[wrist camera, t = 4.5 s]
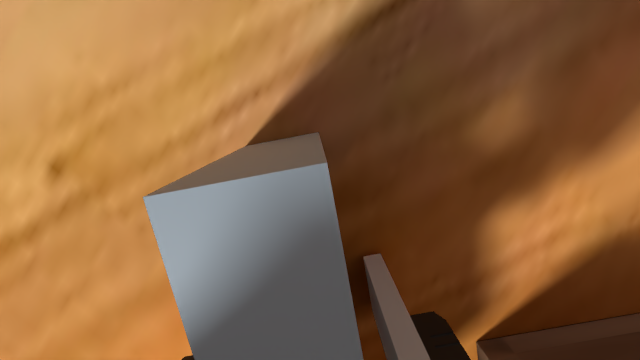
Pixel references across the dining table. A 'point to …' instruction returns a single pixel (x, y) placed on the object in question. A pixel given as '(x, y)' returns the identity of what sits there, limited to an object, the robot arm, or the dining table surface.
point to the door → (258, 255)
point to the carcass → (570, 342)
